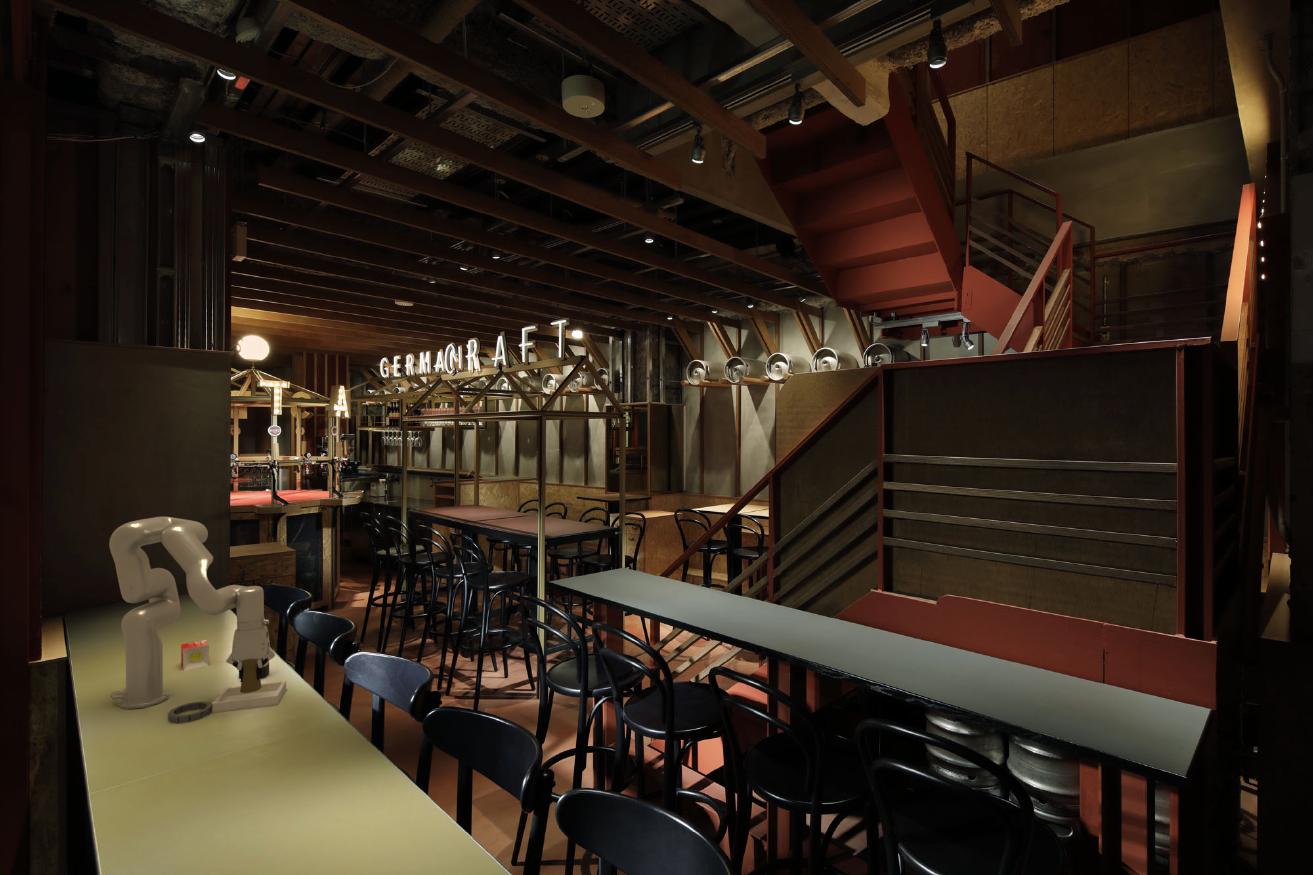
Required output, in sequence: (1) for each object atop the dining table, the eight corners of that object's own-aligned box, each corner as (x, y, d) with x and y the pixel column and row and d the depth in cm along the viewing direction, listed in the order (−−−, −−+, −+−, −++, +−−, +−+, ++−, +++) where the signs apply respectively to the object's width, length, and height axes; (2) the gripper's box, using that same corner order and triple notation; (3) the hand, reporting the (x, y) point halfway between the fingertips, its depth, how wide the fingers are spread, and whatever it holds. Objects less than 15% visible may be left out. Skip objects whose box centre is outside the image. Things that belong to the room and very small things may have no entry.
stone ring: (162, 725, 191) (162, 718, 191) (176, 710, 201) (176, 704, 201) (205, 719, 194) (205, 713, 194) (216, 705, 205) (216, 699, 205)
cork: (265, 685, 211) (265, 652, 211) (255, 692, 205) (255, 658, 205) (246, 685, 211) (246, 653, 211) (236, 693, 205) (235, 659, 205)
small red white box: (183, 670, 235) (183, 649, 235) (181, 664, 241) (181, 644, 241) (209, 665, 240) (209, 644, 240) (206, 659, 246) (206, 639, 246)
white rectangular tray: (212, 712, 199) (212, 703, 199) (225, 696, 212) (225, 687, 212) (277, 704, 205) (277, 695, 205) (286, 689, 217) (286, 680, 217)
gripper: (281, 618, 214) (282, 672, 215) (224, 624, 209) (225, 679, 209) (276, 625, 207) (277, 680, 208) (217, 630, 202) (217, 687, 202)
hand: (251, 679), depth 208 cm, fingers closed on cork, 3 cm apart
